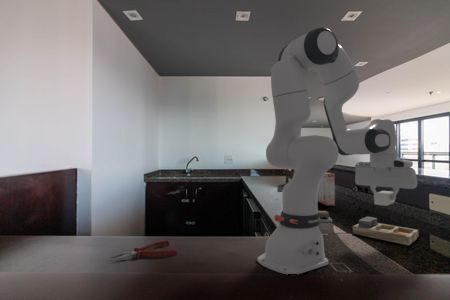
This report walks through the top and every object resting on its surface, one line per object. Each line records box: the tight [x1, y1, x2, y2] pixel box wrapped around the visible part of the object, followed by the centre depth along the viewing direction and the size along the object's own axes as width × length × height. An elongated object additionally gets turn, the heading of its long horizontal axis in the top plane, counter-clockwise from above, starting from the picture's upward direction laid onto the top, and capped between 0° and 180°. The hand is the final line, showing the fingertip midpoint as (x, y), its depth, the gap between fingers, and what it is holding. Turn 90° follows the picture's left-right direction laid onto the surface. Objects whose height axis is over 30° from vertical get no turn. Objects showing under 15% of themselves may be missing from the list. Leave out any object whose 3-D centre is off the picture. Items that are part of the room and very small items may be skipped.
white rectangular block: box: [373, 190, 396, 207], centre depth 97 cm, size 9×4×4 cm, turn 130°
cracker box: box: [318, 171, 336, 207], centre depth 172 cm, size 14×6×21 cm, turn 1°
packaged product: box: [318, 210, 333, 223], centre depth 131 cm, size 18×5×10 cm
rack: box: [352, 216, 419, 246], centre depth 104 cm, size 13×20×6 cm
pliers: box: [110, 240, 178, 262], centre depth 85 cm, size 12×20×3 cm, turn 119°
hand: (384, 198), depth 97 cm, fingers closed on white rectangular block, 4 cm apart
